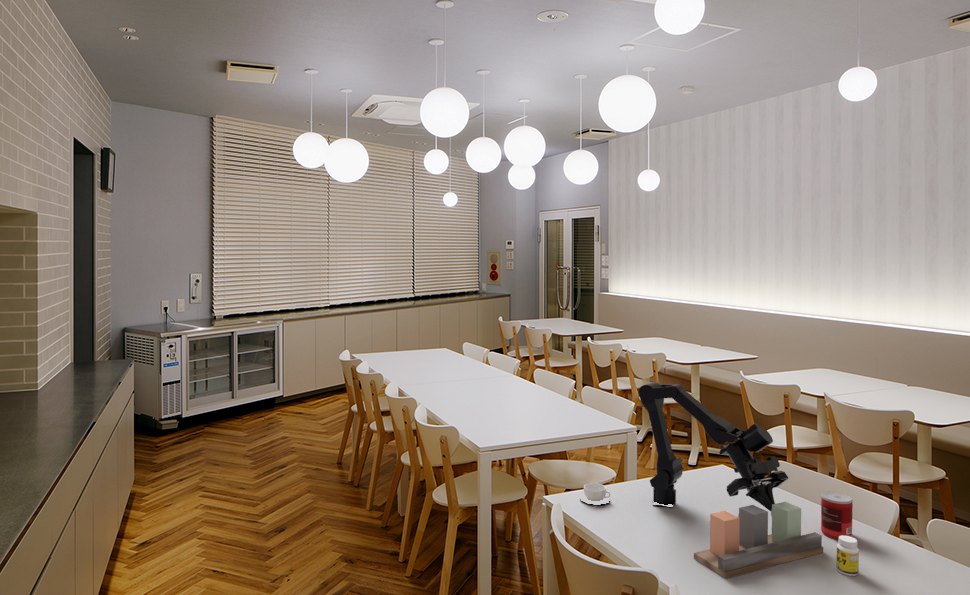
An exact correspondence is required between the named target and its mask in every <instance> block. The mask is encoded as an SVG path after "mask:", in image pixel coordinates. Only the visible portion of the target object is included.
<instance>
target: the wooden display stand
mask: <svg viewBox="0 0 970 595" xmlns="http://www.w3.org/2000/svg"><path fill="white" fill-rule="evenodd" d="M822 537H823V536H822V534H820V533H818V532H809V533H805V534H801V536H798V537H794V538H789V539H785V540H781V541H777V542H774V541H772V533H771V534H768V544H765V545H761V546H757V547H753V548H749V549H747V548H745V547H743V546H741V545H739V551H737V552H733V553H729V554H725V555H721V556H718V555H716V554H714V553H712V552H711V551H710V548H709V549H705V550H699V551H696V552H693V559H694V560H695V559H696V560H695V561H697V562H698V563H700V564H702V565H703V566H704V567H706V568H708V569H710V570H711V571H713V572H714V573H716V574H718V575H719V576H721V577H722V578H724V579H725V580H726V579H729V578H733V577H737V576H741V575H744V574H748V573H752V572H755V571H759V570H763V569H767V568H772V567H774V566H778V565H781V564H784V563H785V564H786V563H789V562H794V561H796V560H800V559H803V558H808V557H811V556H816V555H819V554H822V553H824V547H823V545H822V542H823V541H822Z"/></svg>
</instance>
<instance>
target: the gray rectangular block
mask: <svg viewBox="0 0 970 595" xmlns="http://www.w3.org/2000/svg"><path fill="white" fill-rule="evenodd" d="M737 517H739V545H741V546H743V547H745V548H747V549H749V548H753V547H757V546H761V545H765V544H768V535H769V510H768V511H767V510H765V509H762V508H760V507H759V506H756V505H755V504H749V505H746V506H742V507H739V508H738V514H737Z"/></svg>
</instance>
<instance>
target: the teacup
mask: <svg viewBox="0 0 970 595" xmlns="http://www.w3.org/2000/svg"><path fill="white" fill-rule="evenodd" d="M583 492H584V495H585V496H586V498H587V499H588V500H591V501H600V500H603V499H604V498H609V499H610V497H611V491H609V490H607V486H605V485H604V484H602V483H597V482H595V483H594V482H593V483H592V482H590V483H586V484H584V485H583ZM606 494H608V496H606Z"/></svg>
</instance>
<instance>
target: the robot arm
mask: <svg viewBox="0 0 970 595" xmlns="http://www.w3.org/2000/svg"><path fill="white" fill-rule="evenodd" d="M637 393H638V397H639V399H640V402H641V404H642V406H643V407H644V409H645V410H646V411H647V414H648V418H649V422H650V426H651V427H650V428H651V431H652V435H653V440H654V444H655V447H656V448H655V450H656V452H657V459H656V474H655V475H654V476H653V477H652V478H651V479H649V483H650V487H652V489H653V493H652V494H653V497H652V498H653V501H654V502H657V503H659V504H664V505H668V504H672V505H673V504H675V505H676V503H677V489H675V484H677V481H678V480H679V479H681V477H682V476H683V471H684V469H685V468H684V467H683V464H682V458H681V457H679V456H678V457H676V455H675V454H674V452H673V449H672V445H671V440H670V436H669V431H668V428H667V423H666V418H665V413H664V409H663V408H664V403H665V402H664V401H665V399H672V400H674V401H675V402H676V403H677V404H678V405H679V406H681V408H683V409H684V410H685V411H686V412H687V413H688V414H689V415H690V416H692V417H693V419H695V420H697V422H698V423H700V425H702V427H703V430H704V432H705V433H706V435H708V436H709V438H710V439H711V440H712V442H714V443H715V444H717V445H721V446H720V450H719V455H722V456H723V455H725V456H727V455H728V456H729V458H730V460H731V462H732V464H733V465H734V467H735V468H734V469H733V471H734V473H736V474H737V473H738V474H739V475H740V477H739V478H735V479H734V480H732V481H731V482H730V483H729V484H728V485H727V486H726V492H727V494H728V496H729V497H735V496H738V495H739V491H741V490H746V491H747V493H746V494H745V496H746V497H749V498H751V499H752V500H754V501H755V502H757V503H758V504H760V505H761V506H763V507H764V508H766V509H767V510H768V512H771V510H772V504H776V502H775V498H774V494H773V489H776V488H778V487H779V486H781V485H782V484H783V483H785V482H786V481H788V480H789V476H788V475H787V474H786V472H785V471H783V470H778V468H779V467H780V466H781V464H780V462H779V460H778V458H777V457H776V456H775V455H773V456H768V457H766V460H764V461H760V459H758V457H757V458H754V456H753V454H751V453H752V452H753V453H755V454H756V453H759V452H760V451H761V450H763V449H765V448H767V447H768V446H769V445H771V444H773V441H774V440H773V437H772V435H771V434H770V433H769V431H768V430H766V429H765V428H764V427H763V426H761V425H759V424H758V423H757V422H755V423H753V424H752V425H750V427H749V428H747V429H746V430H743V429H740V428H739V427H735V426H734V425H733V424H732V423H730V422H729V421H727V420H726V419H724V418H723V417H721V416H718V415H716V414H714V413H713V412H711V411H710V410H709V409H707V408H706V407H705V406H704V405H703V404H702V403H700V401H698V400H697V399H696V398H695V397H694V396H693V395H692V394H690V393H689V392H688V391H687V390H686V389H685V388H684V386H682V385H681V384H679V383H675V384H660V383H658V382H656V381H653V382H650V383H646V384H644V385H641V386H640V388H639V389H638V392H637ZM726 443H728V444H726ZM725 444H726V445H725ZM653 501H652V502H653Z"/></svg>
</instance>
